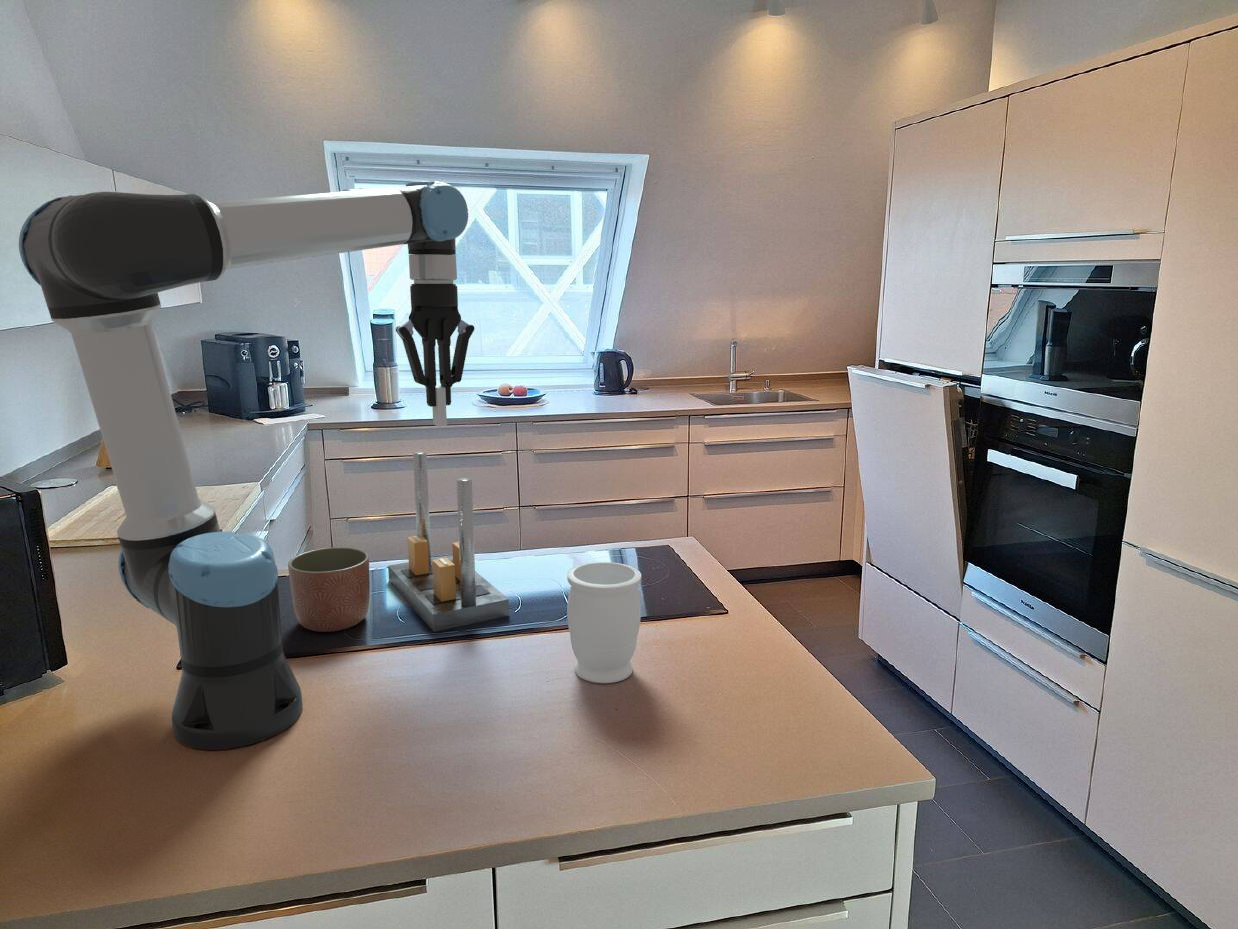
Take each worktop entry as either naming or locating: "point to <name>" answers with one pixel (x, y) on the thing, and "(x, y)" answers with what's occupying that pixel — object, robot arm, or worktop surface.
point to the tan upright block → (456, 559)
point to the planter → (330, 588)
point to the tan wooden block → (418, 555)
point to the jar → (603, 619)
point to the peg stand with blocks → (472, 589)
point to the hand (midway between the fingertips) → (440, 424)
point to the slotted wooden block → (444, 579)
